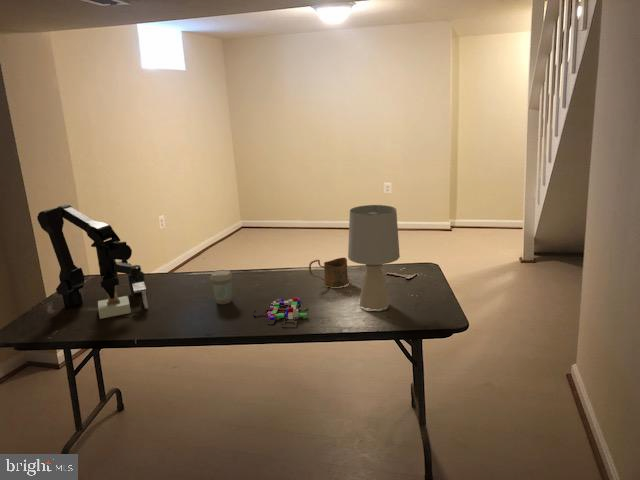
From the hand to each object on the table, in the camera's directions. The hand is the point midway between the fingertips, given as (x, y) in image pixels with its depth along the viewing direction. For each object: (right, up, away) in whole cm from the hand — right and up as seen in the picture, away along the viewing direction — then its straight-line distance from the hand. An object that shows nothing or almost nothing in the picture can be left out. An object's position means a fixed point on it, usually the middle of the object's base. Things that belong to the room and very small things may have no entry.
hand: (112, 296), depth 196 cm
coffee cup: (+42, -3, +6) cm, 42 cm away
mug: (+84, +3, +18) cm, 86 cm away
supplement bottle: (+3, -1, +19) cm, 19 cm away
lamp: (+100, -3, -6) cm, 100 cm away
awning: (+9, -4, +5) cm, 12 cm away
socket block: (0, -6, +2) cm, 6 cm away
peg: (0, -2, +1) cm, 2 cm away
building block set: (+65, -6, -7) cm, 66 cm away
